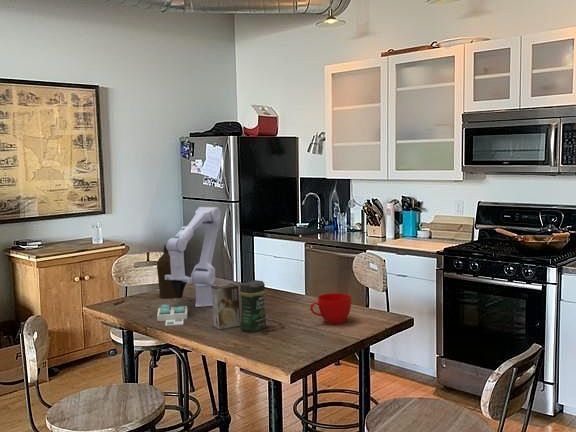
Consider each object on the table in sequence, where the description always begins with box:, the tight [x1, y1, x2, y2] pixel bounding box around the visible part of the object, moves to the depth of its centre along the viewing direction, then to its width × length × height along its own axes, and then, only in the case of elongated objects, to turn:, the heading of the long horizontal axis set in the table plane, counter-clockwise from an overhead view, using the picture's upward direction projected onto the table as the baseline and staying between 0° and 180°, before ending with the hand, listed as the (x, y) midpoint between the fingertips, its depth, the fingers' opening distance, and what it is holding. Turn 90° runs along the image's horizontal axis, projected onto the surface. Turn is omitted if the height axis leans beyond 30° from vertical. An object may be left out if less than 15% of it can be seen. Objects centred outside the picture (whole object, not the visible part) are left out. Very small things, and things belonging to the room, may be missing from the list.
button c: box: [160, 303, 171, 310], centre depth 250 cm, size 4×4×2 cm
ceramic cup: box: [309, 292, 352, 325], centre depth 231 cm, size 13×17×10 cm
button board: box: [156, 305, 188, 322], centre depth 248 cm, size 12×12×2 cm
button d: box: [160, 307, 170, 315], centre depth 245 cm, size 4×4×2 cm
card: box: [164, 319, 184, 327], centre depth 239 cm, size 7×7×1 cm
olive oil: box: [156, 243, 177, 300], centre depth 283 cm, size 11×11×25 cm
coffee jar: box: [239, 279, 267, 333], centre depth 226 cm, size 10×8×19 cm
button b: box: [174, 305, 184, 314], centre depth 245 cm, size 4×4×2 cm
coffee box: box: [211, 282, 241, 330], centre depth 231 cm, size 9×6×16 cm
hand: (179, 297), depth 251 cm, fingers closed
